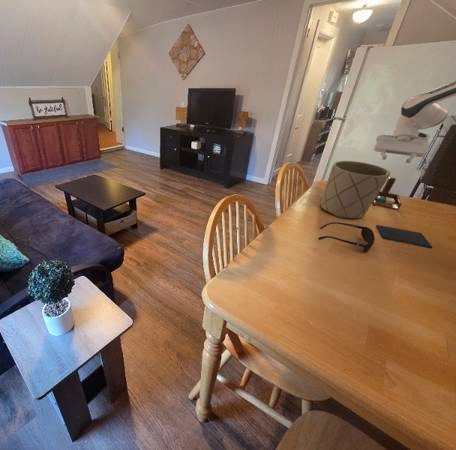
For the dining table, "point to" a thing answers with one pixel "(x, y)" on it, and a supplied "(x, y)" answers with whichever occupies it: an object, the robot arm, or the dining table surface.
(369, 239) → the sunglasses
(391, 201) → the packet
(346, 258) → the dining table surface
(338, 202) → the planter
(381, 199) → the packet
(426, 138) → the robot arm
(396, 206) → the basket
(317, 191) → the dining table surface
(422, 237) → the mat
